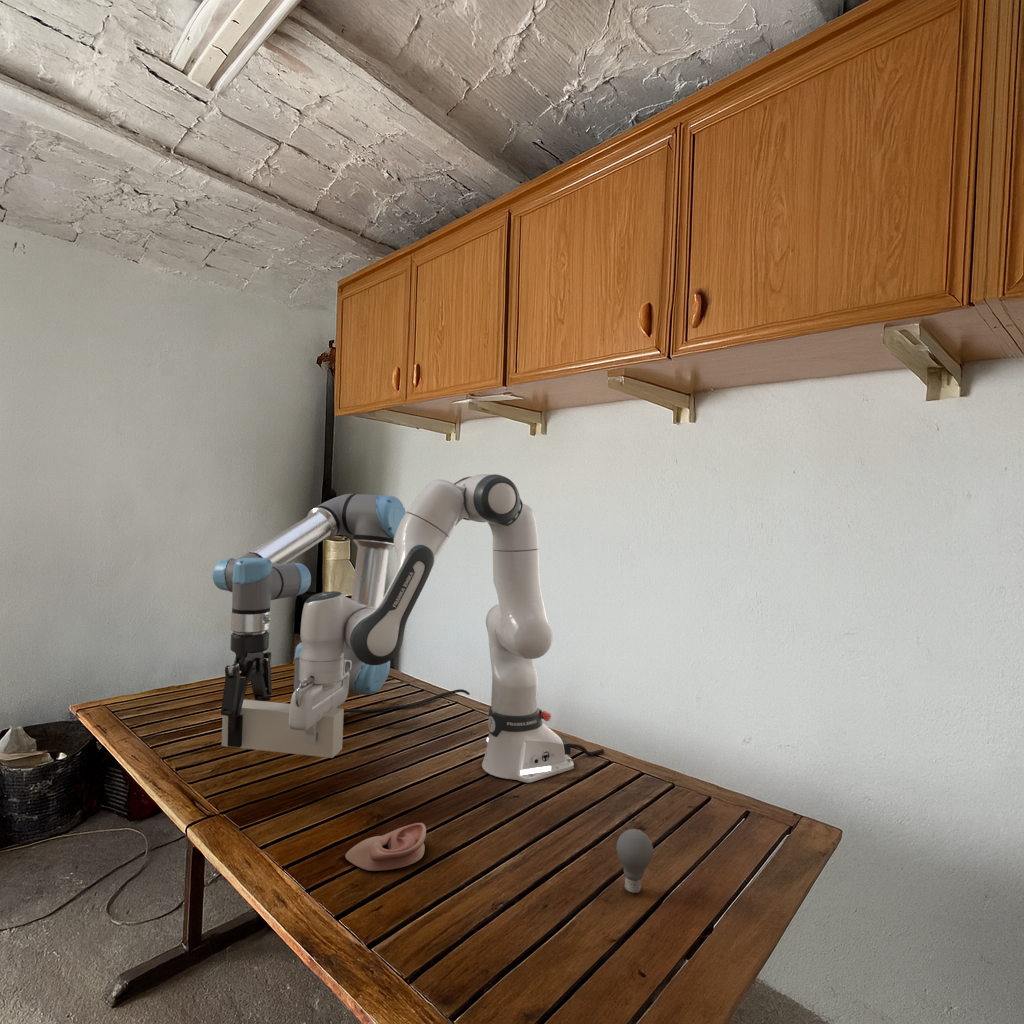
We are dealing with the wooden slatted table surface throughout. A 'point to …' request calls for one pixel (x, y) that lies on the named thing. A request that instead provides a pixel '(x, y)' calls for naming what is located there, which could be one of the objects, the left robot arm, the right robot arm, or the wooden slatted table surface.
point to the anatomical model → (390, 849)
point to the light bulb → (634, 857)
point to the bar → (285, 730)
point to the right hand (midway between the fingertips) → (319, 736)
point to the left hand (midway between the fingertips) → (246, 738)
